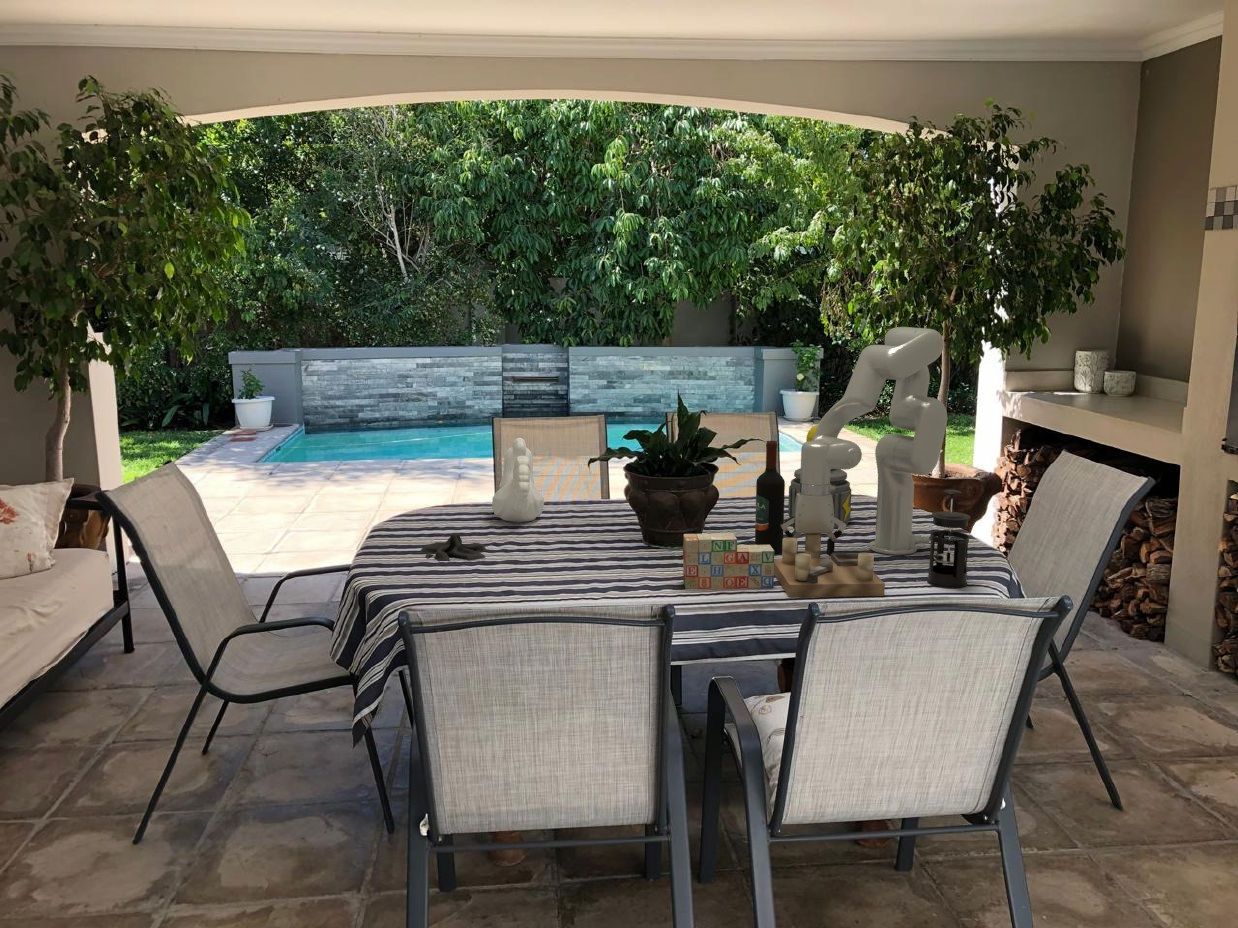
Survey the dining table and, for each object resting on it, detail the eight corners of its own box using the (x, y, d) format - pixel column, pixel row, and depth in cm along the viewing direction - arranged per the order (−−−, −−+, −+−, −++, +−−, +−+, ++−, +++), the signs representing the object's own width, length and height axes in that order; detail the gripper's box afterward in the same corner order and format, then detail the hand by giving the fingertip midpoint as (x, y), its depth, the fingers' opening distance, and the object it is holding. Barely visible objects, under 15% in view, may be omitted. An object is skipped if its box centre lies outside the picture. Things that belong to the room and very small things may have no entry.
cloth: (420, 546, 293) (419, 525, 292) (488, 544, 295) (487, 523, 294) (414, 568, 272) (413, 545, 270) (487, 566, 274) (486, 543, 273)
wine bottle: (782, 555, 283) (785, 444, 277) (753, 553, 284) (756, 443, 279) (783, 547, 290) (786, 439, 284) (755, 546, 291) (758, 438, 286)
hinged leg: (823, 566, 260) (823, 544, 259) (836, 569, 257) (836, 546, 256) (791, 578, 249) (792, 555, 248) (804, 581, 247) (805, 558, 246)
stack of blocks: (769, 581, 260) (770, 532, 257) (774, 588, 253) (775, 538, 251) (682, 581, 259) (683, 532, 257) (684, 589, 253) (685, 539, 251)
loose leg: (818, 561, 277) (819, 531, 275) (821, 565, 273) (822, 535, 271) (803, 561, 276) (803, 531, 275) (806, 565, 273) (807, 535, 271)
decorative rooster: (496, 512, 332) (494, 434, 328) (546, 512, 332) (545, 434, 327) (484, 531, 307) (482, 447, 303) (538, 532, 307) (537, 447, 303)
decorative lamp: (862, 521, 320) (866, 423, 315) (830, 533, 306) (834, 430, 301) (808, 512, 332) (811, 417, 327) (775, 522, 319) (777, 424, 313)
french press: (919, 577, 262) (923, 486, 258) (954, 575, 264) (959, 485, 259) (941, 591, 251) (946, 496, 246) (977, 589, 252) (984, 495, 248)
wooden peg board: (859, 569, 269) (860, 534, 268) (884, 595, 247) (886, 558, 246) (771, 570, 268) (772, 535, 267) (789, 597, 246) (790, 559, 245)
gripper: (844, 486, 275) (841, 551, 278) (778, 486, 274) (776, 551, 277) (852, 492, 268) (849, 558, 271) (783, 492, 267) (781, 559, 270)
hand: (812, 555), depth 274 cm, fingers open, 8 cm apart
